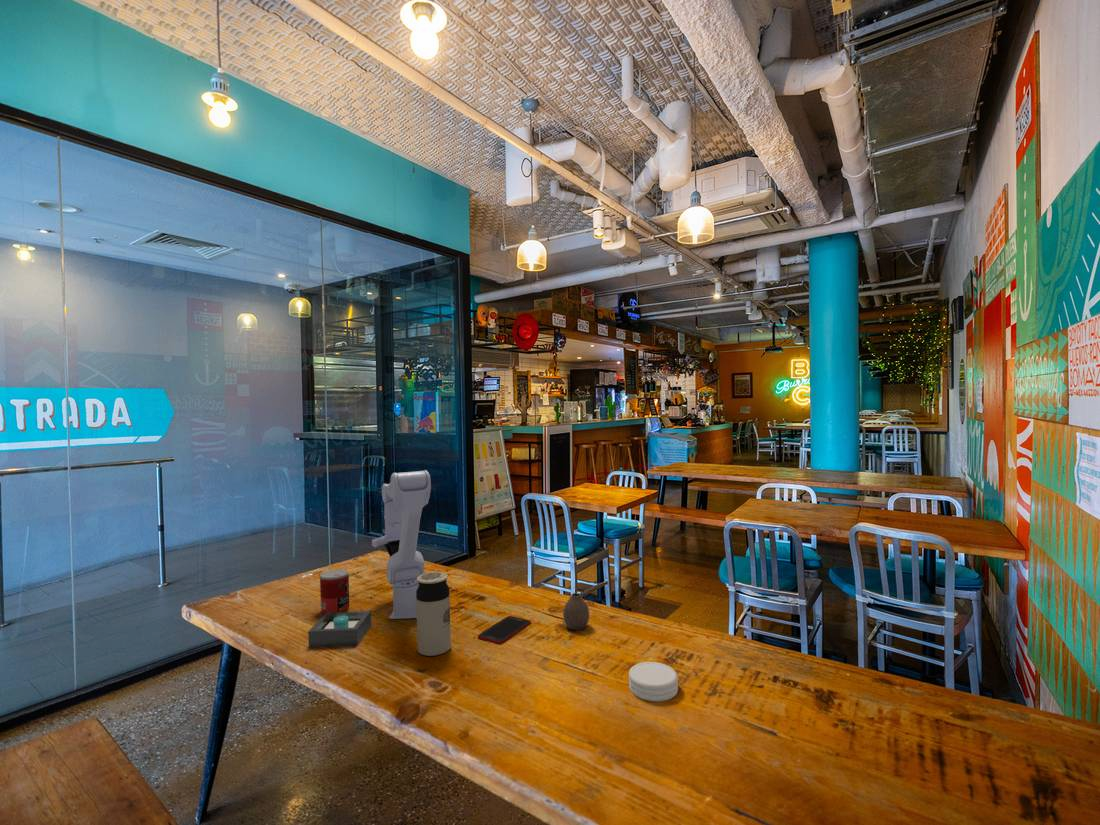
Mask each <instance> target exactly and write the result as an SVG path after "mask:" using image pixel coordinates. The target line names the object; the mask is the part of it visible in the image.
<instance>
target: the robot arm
mask: <svg viewBox="0 0 1100 825" xmlns="http://www.w3.org/2000/svg"><path fill="white" fill-rule="evenodd" d="M431 482H432V480H431V474H430V473H429V472H428V470H426V469H424V470H419V471H418V470H417V471H407V472H406V471H405V472H403V471H402V472H392V474H391V475H390V482H389V483H383V484H382V487H381V496H382V497H381V498H382V502H383V504H384V534H385V535H382V536H380V537H377V538H374V539H371V547H373V548H377V547H379V546H384V547H385V549H386V550H387V554H388V556H389V558H388V561H387V564H386V572H385V573H386V578H387V579H386V580H387V582H388V584H389V585H392V600H393V601H392V604H393V605H392V606H393V607H392V608H393V611H392V613H391V614H390V616H389V617H388V618H389V620H400V619H401V620H402V619H403V620H404V619H417V605H416V590H417V588H418V586H419V584H418V581H417V577H418V576H420V575H422V574H425V560H424V557H423V555H422V553H421V552H420V551H418V550H417V545H418V540H419V538H418V537H419V530H420V524H421V523H420V522H421V516H422V512H423V508H424V507H425V506H426V505H428V504H429V499H430V496H431V492H432V491H431V490H432V484H431Z"/></svg>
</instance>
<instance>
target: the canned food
mask: <svg viewBox="0 0 1100 825" xmlns="http://www.w3.org/2000/svg"><path fill="white" fill-rule="evenodd" d="M349 577H350V576H349V571H348V570H346V569H341V568H339V569H330V570H326V571H324V572H322V573H321V574H320V575H319V588H320V589H319V590H320V611H321V613H322V614H323V615H325V614H326V613H327V612H348V610H349V609H350V578H349Z"/></svg>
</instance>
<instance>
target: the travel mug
mask: <svg viewBox="0 0 1100 825" xmlns="http://www.w3.org/2000/svg"><path fill="white" fill-rule="evenodd" d="M448 578H449V576H448V573H446V572H442V571H431V572H429V571H428V572H424V574H422V575H420V576H418V577H417V581H418V584H419V586H418V588H417V590H416V605H417V618H416V633H417V637H416V638H417V652H418V653H419V654H420V655H423V656H428V657H435V656H440V655H443V654H445V653H447V652H448V651H449V650H450V649H451V647H452V644H451V643H452V642H451V641H452V638H451V636H452V635H451V634H452V633H451V632H452V631H451V604H450V587H449V584H448V582H447V581H448V580H447V579H448Z"/></svg>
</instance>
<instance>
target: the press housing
mask: <svg viewBox="0 0 1100 825" xmlns="http://www.w3.org/2000/svg"><path fill="white" fill-rule="evenodd" d="M338 616H348V621H356V620H359V621H358V623H357V624H356V625H355V626H354V628H335V629H324V628H325V627H326V626H327V625H328V624H329V623H330V622H332V621H334V618H336V617H338ZM371 626H372V610H357V611H356V610H355V611H353V610H352V611H345V612H327V613H326V614H323V616H322V617H320V619H319V620H318V621H317V622H316V623H315V624H314V625H313V626H312V627H311V628H310V629H309V630H308V632H307V636H308V638H307V640H308V648H325V647H326V648H328V647H329V648H330V647H348V646H350V647H351V646H358V644H360V642H362V639H363V637H364V636H365V634H367V632H368V631H369V629H370V628H371Z"/></svg>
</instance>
